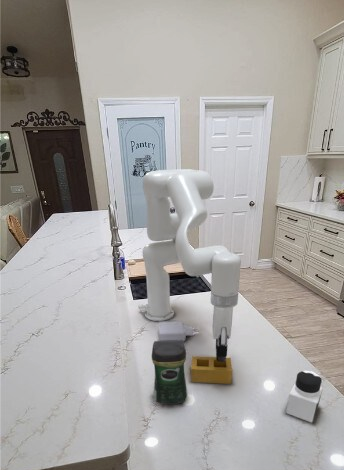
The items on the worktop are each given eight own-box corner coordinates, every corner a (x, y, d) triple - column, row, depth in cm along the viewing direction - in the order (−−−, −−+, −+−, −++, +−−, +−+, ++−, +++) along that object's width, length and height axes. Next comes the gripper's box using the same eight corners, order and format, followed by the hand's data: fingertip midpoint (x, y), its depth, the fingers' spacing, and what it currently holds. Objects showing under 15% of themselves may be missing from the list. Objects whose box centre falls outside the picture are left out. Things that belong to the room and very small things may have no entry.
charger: (199, 342, 123) (159, 343, 123) (197, 330, 131) (159, 331, 131) (199, 331, 120) (159, 332, 120) (197, 319, 129) (159, 320, 128)
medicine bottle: (312, 423, 87) (321, 388, 81) (285, 413, 90) (292, 378, 84) (318, 407, 92) (326, 372, 86) (292, 398, 95) (298, 364, 90)
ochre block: (190, 382, 103) (191, 369, 100) (191, 368, 109) (192, 356, 106) (231, 383, 101) (232, 370, 99) (229, 370, 108) (230, 357, 105)
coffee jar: (185, 386, 101) (185, 334, 92) (187, 405, 94) (187, 350, 85) (154, 388, 100) (151, 336, 92) (153, 406, 93) (150, 351, 85)
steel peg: (216, 361, 100) (217, 339, 96) (215, 356, 103) (217, 334, 99) (226, 362, 100) (227, 339, 96) (225, 356, 103) (227, 334, 99)
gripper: (210, 286, 99) (208, 338, 108) (211, 310, 85) (208, 368, 93) (235, 286, 99) (231, 339, 107) (240, 311, 84) (235, 369, 93)
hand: (221, 352), depth 100 cm, fingers closed on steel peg, 3 cm apart
